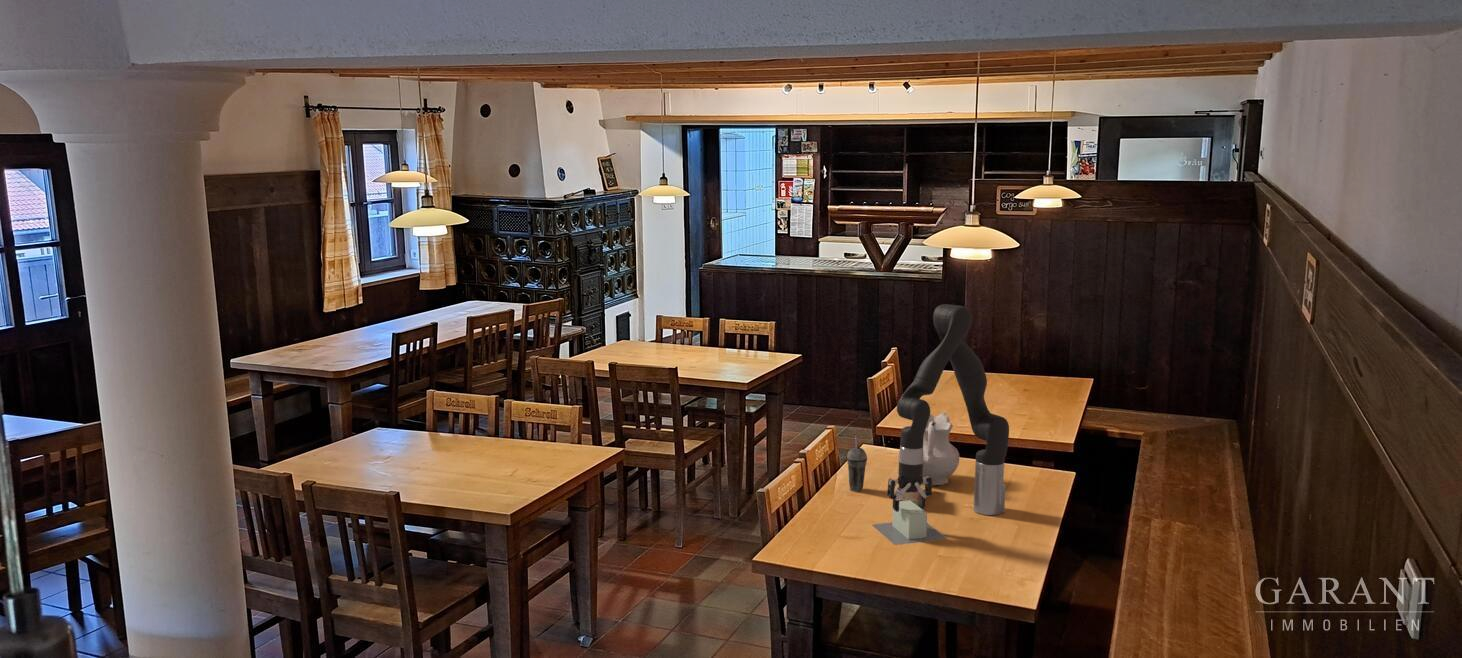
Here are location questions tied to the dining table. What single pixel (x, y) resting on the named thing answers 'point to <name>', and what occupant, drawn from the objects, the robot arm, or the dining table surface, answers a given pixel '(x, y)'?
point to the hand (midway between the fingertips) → (908, 509)
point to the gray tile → (899, 538)
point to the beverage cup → (856, 467)
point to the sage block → (910, 520)
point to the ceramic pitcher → (939, 450)
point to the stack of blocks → (910, 497)
